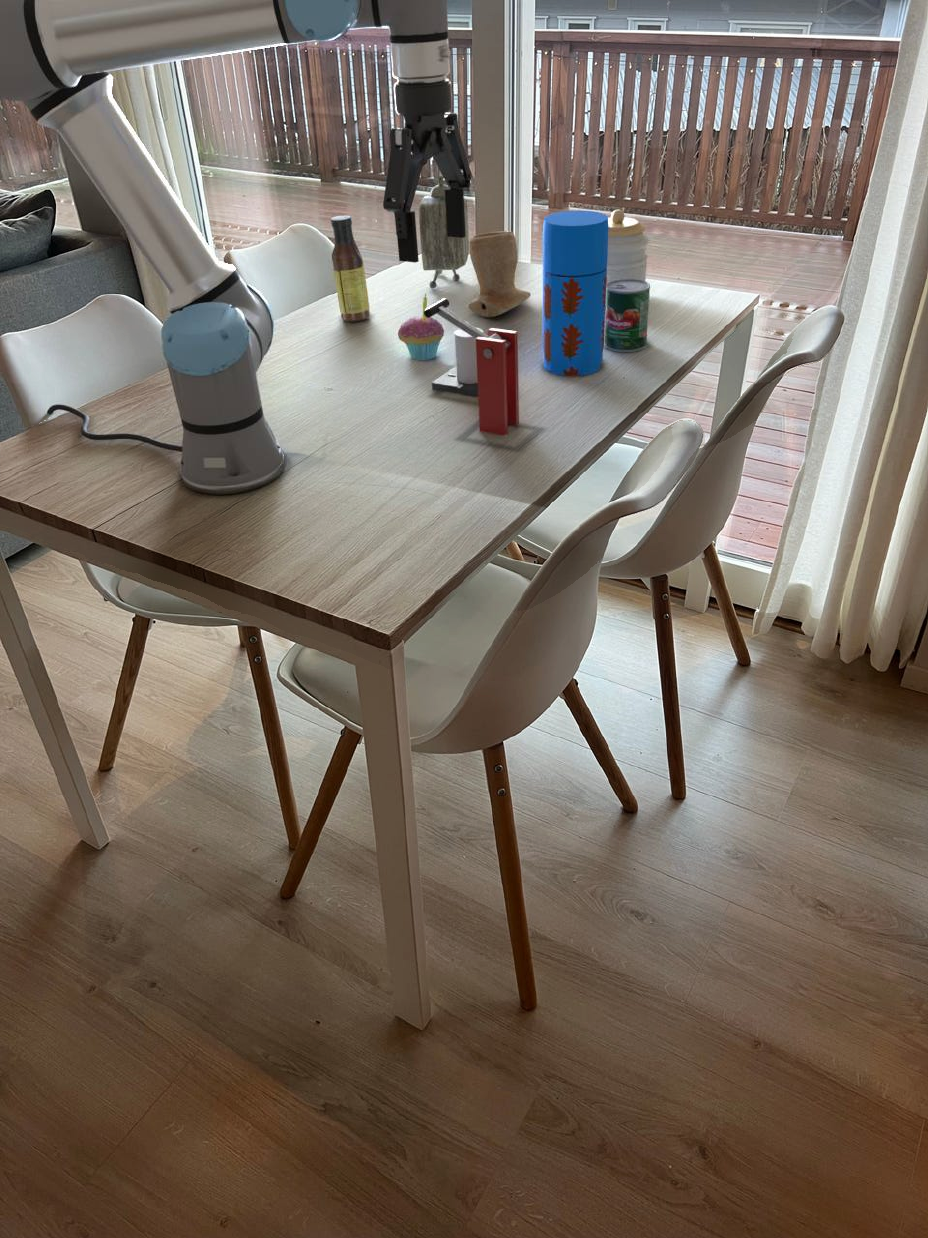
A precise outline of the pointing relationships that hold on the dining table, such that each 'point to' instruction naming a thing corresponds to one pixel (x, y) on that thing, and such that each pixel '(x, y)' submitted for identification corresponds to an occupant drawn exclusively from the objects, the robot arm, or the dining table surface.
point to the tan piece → (495, 273)
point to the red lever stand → (497, 381)
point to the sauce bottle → (349, 272)
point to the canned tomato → (626, 315)
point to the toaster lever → (458, 321)
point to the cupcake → (421, 335)
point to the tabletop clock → (440, 235)
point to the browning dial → (466, 357)
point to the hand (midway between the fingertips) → (433, 248)
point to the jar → (626, 248)
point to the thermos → (574, 291)
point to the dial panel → (454, 384)
